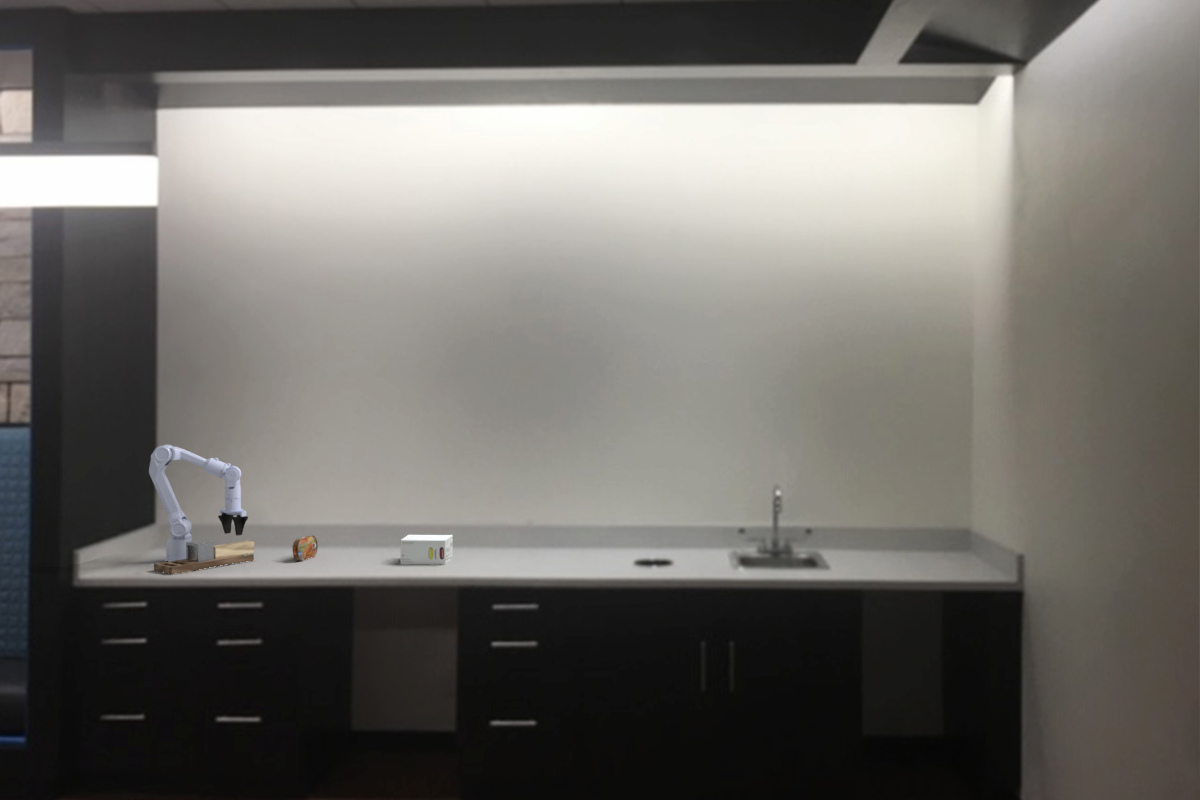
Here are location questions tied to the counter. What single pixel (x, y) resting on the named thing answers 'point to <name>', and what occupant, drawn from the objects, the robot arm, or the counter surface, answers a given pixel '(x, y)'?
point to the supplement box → (426, 549)
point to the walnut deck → (200, 563)
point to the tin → (305, 548)
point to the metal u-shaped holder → (200, 550)
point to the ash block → (233, 549)
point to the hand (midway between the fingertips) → (233, 534)
